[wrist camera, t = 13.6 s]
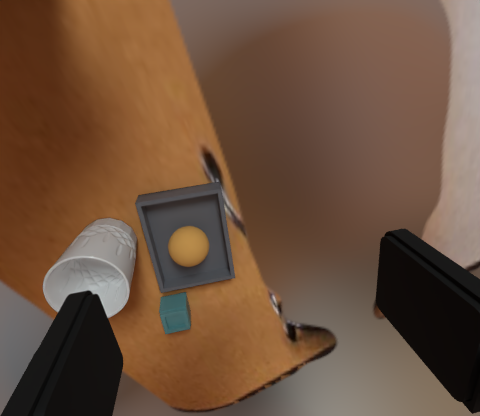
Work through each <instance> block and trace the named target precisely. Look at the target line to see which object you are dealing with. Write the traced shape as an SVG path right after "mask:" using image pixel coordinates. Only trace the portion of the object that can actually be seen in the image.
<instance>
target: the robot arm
mask: <svg viewBox="0 0 480 416" xmlns="http://www.w3.org/2000/svg"><path fill="white" fill-rule="evenodd" d="M376 303H377V306H378V308H379V310H380V311H381V312H382V313H383V314H384V316H385V317H386V318H387V319H388V320H389V321H390V323H391V324H392V325H393V326H394V327H395V329H396V330H397V331H398V332H399V333H400V335H401V336H402V337H403V338H404V339H405V341H406V342H407V343H408V344H409V345H410V347H411V348H412V349H413V350H414V351H415V353H416V354H417V355H418V356H419V357H420V359H421V360H422V361H423V362H424V363H425V365H426V366H427V367H428V368H429V369H430V370H431V372H432V373H433V374H434V375H435V376H436V378H437V379H438V380H439V381H440V382H441V384H442V385H443V386H444V387H445V388H446V389H447V391H448V392H449V393H450V394H451V396H452V397H454V399H456V400H457V401H459V402H463V404H464V405H465V406H466V407H467V408H468V410H469V411H470V412H471V413H472V414H473V413H476V412H480V279H479V278H477V277H476V276H474V275H473V274H471V273H470V272H468V271H467V270H465V269H464V268H462V267H461V266H459V265H458V264H457V263H455V262H454V261H452V260H451V259H449V258H448V257H446V256H445V255H443V254H442V253H440V252H439V251H437V250H436V249H435V248H433V247H432V246H430V245H429V244H427V243H426V242H424V241H423V240H421V239H420V238H418V237H417V236H416V235H414V234H412V233H411V232H409V231H408V230H406V229H399V230H394V231H389V232H386V234H385V236H384V237H382V239H381V242H380V254H379V267H378V279H377V292H376ZM122 369H123V356H122V353H121V350H120V348H119V345H118V343H117V340H116V338H115V335H114V333H113V330H112V328H111V325H110V323H109V320H108V318H107V315H106V312H105V310H104V307H103V305H102V302H101V300H100V297H99V295H98V294H93V293H92V292H91V291H89V290H87V291H82V292H77V293H72V294H69V295H68V296H67V297H66V299H65V301H64V303H63V305H62V306H61V308H60V310H59V312H58V314H57V315H56V317H55V319H54V321H53V323H52V325H51V327H50V328H49V330H48V332H47V334H46V336H45V337H44V339H43V341H42V343H41V345H40V347H39V348H38V350H37V351H36V353H35V354H34V356H33V358H32V360H31V362H30V363H29V365H28V367H27V369H26V371H25V372H24V374H23V376H22V378H21V380H20V382H19V383H18V385H17V387H16V389H15V391H14V392H13V394H12V396H11V398H10V400H9V401H8V403H7V405H6V407H5V409H4V410H3V412H2V414H1V416H112V414H113V410H114V405H115V400H116V396H117V391H118V386H119V382H120V378H121V373H122Z"/></svg>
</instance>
